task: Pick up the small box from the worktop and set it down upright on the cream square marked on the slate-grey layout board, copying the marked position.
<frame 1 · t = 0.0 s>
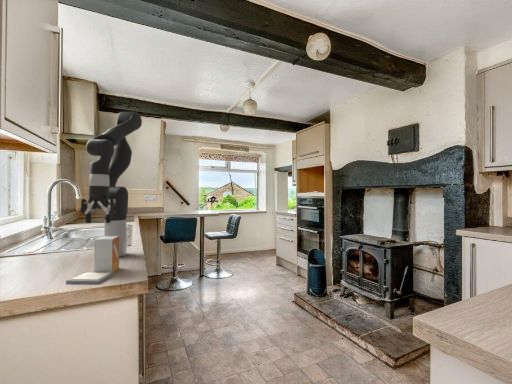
hand: (98, 223, 110), 17 cm above the counter, tool pointing down, fingers open, 8 cm apart
small box: (107, 271, 99), on the counter
layout board: (91, 279, 90), on the counter
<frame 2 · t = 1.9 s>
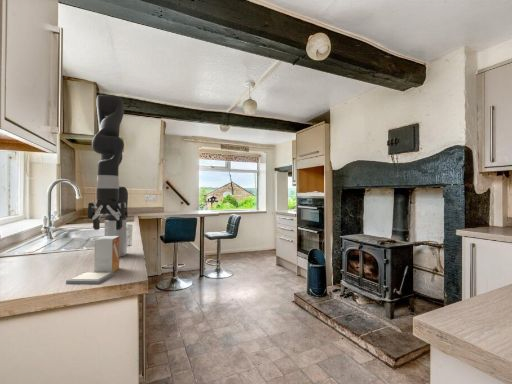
hand: (107, 229, 99), 16 cm above the counter, tool pointing down, fingers open, 8 cm apart
nothing on the counter moved.
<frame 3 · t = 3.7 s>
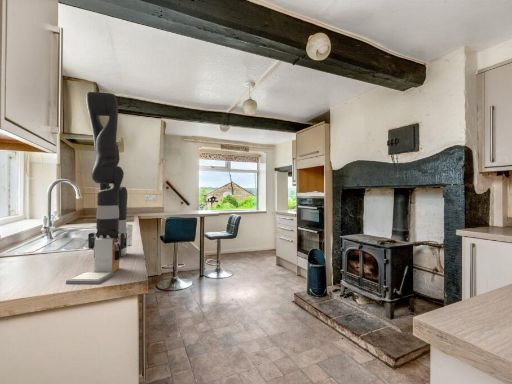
hand: (107, 259, 99), 4 cm above the counter, tool pointing down, fingers open, 7 cm apart
small box: (107, 271, 99), on the counter, touching gripper
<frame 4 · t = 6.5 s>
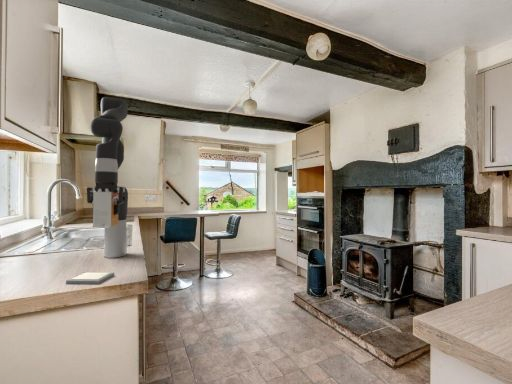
hand: (106, 214, 98), 22 cm above the counter, tool pointing down, fingers closed on small box, 7 cm apart
small box: (106, 226, 98), point 17 cm above the counter, touching gripper
when the fingers open (7 cm above the counter, at t = 9.3 s): small box drops 1 cm, resting on layout board.
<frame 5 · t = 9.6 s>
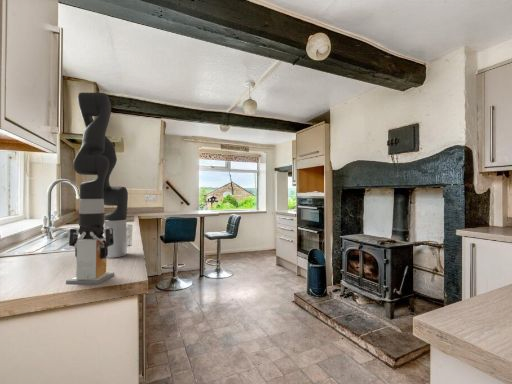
hand: (91, 258, 90), 7 cm above the counter, tool pointing down, fingers open, 8 cm apart
small box: (92, 276, 90), point 1 cm above the counter, touching layout board
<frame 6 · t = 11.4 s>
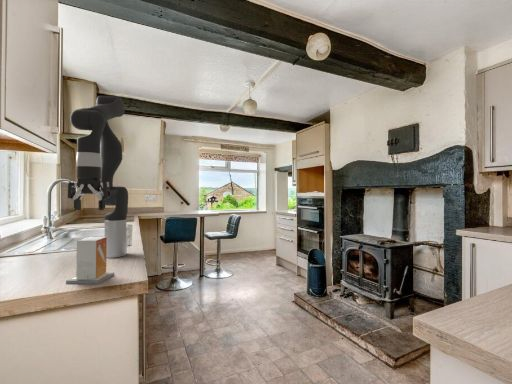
hand: (89, 210, 94), 24 cm above the counter, tool pointing down, fingers open, 8 cm apart
nothing on the counter moved.
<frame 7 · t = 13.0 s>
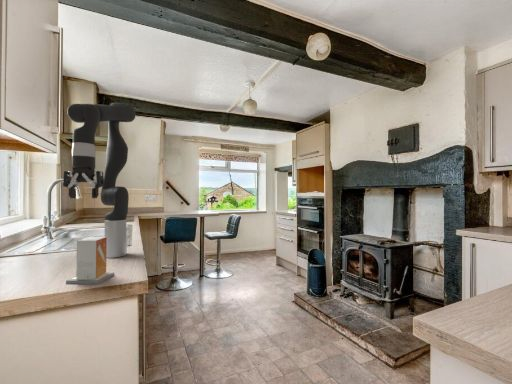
hand: (83, 198, 99), 28 cm above the counter, tool pointing down, fingers open, 8 cm apart
nothing on the counter moved.
at the end: small box 0.3 cm off-centre on the layout board, point 1.0 cm above the layout board's base; small box tilted 0°; the gripper is holding nothing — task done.
